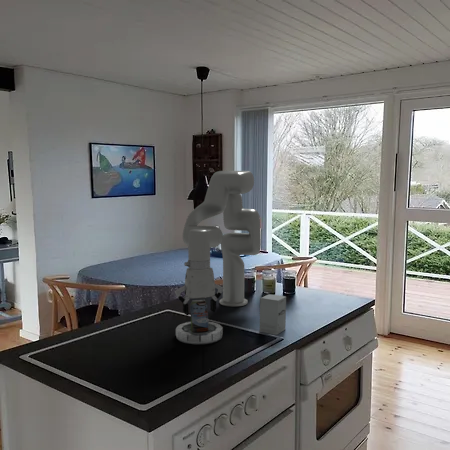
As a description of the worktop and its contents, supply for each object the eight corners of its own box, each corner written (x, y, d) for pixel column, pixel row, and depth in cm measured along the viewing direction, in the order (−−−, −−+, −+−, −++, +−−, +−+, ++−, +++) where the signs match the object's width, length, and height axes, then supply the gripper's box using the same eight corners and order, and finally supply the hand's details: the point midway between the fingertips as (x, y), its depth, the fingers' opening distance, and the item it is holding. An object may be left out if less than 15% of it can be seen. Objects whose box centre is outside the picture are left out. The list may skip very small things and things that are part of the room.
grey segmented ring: (171, 331, 165) (171, 323, 165) (213, 327, 171) (213, 319, 170) (182, 346, 150) (182, 337, 150) (228, 341, 156) (228, 332, 155)
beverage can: (195, 337, 156) (194, 303, 155) (187, 332, 163) (186, 298, 162) (212, 335, 159) (211, 301, 158) (204, 329, 165) (203, 296, 165)
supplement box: (277, 335, 162) (278, 300, 161) (258, 331, 166) (259, 297, 164) (286, 329, 168) (286, 296, 167) (268, 326, 172) (268, 293, 171)
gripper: (177, 268, 152) (178, 318, 154) (226, 264, 158) (226, 313, 160) (172, 264, 159) (173, 312, 161) (219, 261, 165) (219, 307, 167)
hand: (199, 312), depth 160 cm, fingers open, 9 cm apart
